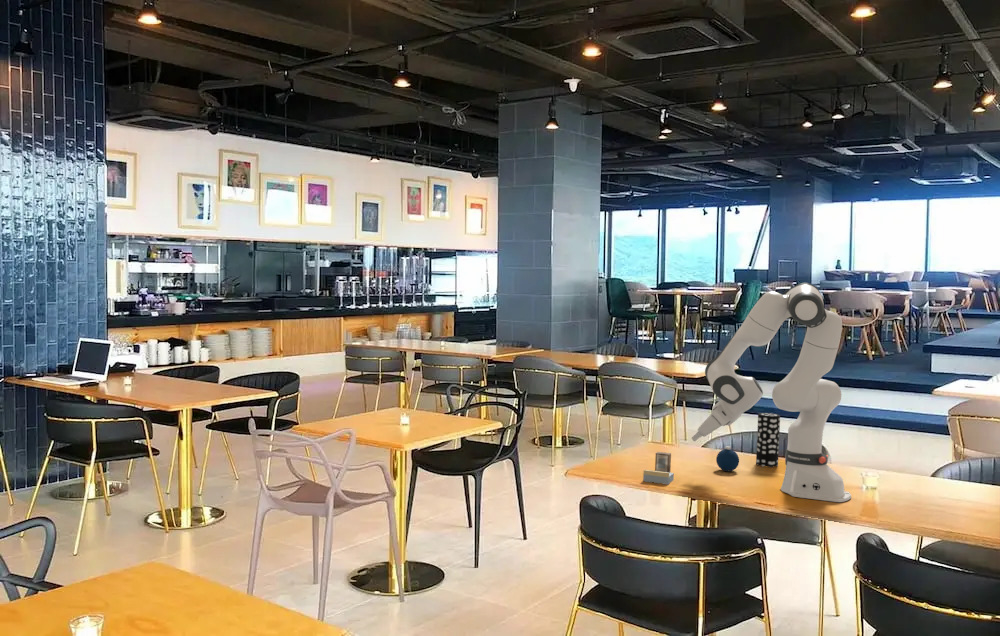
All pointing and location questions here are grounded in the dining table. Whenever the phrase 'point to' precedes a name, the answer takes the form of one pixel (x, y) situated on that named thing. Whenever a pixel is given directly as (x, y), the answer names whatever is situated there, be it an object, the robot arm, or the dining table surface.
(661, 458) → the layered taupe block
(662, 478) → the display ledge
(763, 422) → the spotted tube
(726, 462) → the christmas ornament
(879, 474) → the dining table surface
